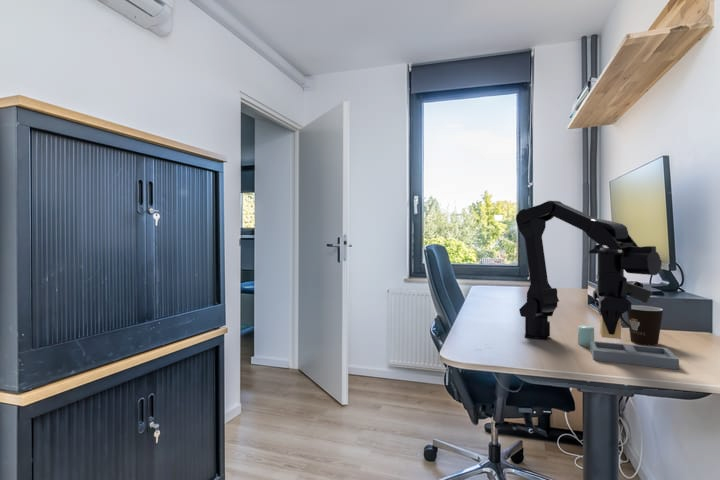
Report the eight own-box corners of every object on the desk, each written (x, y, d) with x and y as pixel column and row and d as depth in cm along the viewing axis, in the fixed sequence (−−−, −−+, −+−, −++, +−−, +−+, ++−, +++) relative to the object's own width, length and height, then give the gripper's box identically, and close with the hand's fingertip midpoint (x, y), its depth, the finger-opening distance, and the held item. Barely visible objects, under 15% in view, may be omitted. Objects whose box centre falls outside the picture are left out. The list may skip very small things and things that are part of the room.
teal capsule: (578, 345, 110) (578, 328, 110) (577, 342, 114) (577, 325, 114) (594, 347, 108) (594, 329, 108) (593, 343, 112) (593, 326, 112)
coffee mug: (669, 347, 108) (669, 311, 108) (634, 345, 110) (634, 310, 109) (647, 336, 119) (647, 304, 119) (616, 335, 121) (616, 303, 121)
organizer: (593, 359, 97) (593, 350, 97) (589, 349, 106) (589, 340, 106) (678, 369, 90) (678, 359, 90) (667, 357, 99) (667, 348, 99)
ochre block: (602, 337, 99) (602, 317, 99) (600, 333, 103) (600, 314, 103) (620, 339, 97) (620, 319, 97) (618, 335, 101) (618, 316, 101)
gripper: (658, 276, 88) (658, 345, 88) (640, 269, 105) (640, 327, 105) (600, 274, 93) (600, 339, 93) (592, 268, 110) (592, 323, 110)
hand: (610, 332), depth 100 cm, fingers closed on ochre block, 4 cm apart
